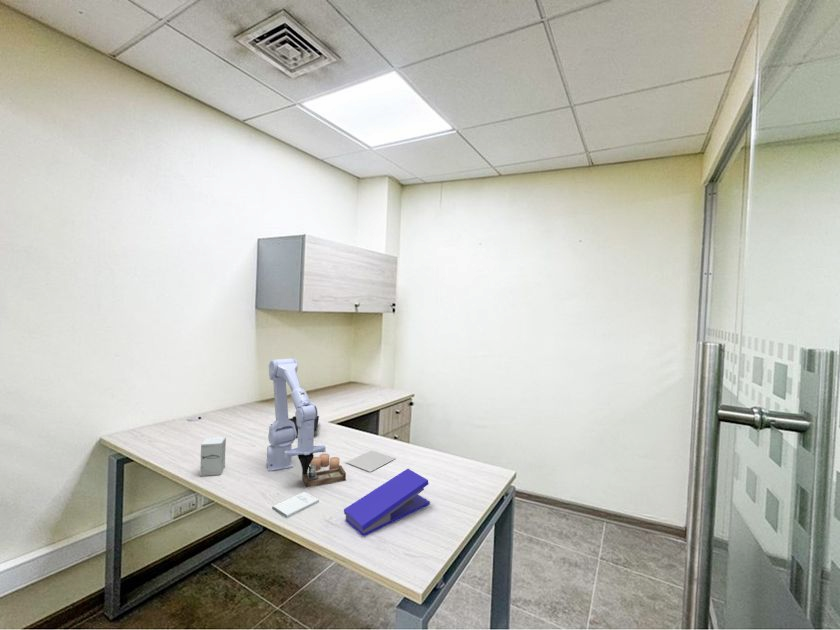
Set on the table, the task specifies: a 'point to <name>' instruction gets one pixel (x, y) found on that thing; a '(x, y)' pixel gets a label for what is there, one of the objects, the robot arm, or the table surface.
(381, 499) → the stapler
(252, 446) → the table surface
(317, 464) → the peach domed capsule
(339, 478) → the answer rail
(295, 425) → the tray
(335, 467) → the peach domed cylinder
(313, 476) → the slider
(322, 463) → the peach rounded cylinder
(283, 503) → the external hard drive
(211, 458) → the supplement box
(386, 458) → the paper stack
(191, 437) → the table surface
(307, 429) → the robot arm
